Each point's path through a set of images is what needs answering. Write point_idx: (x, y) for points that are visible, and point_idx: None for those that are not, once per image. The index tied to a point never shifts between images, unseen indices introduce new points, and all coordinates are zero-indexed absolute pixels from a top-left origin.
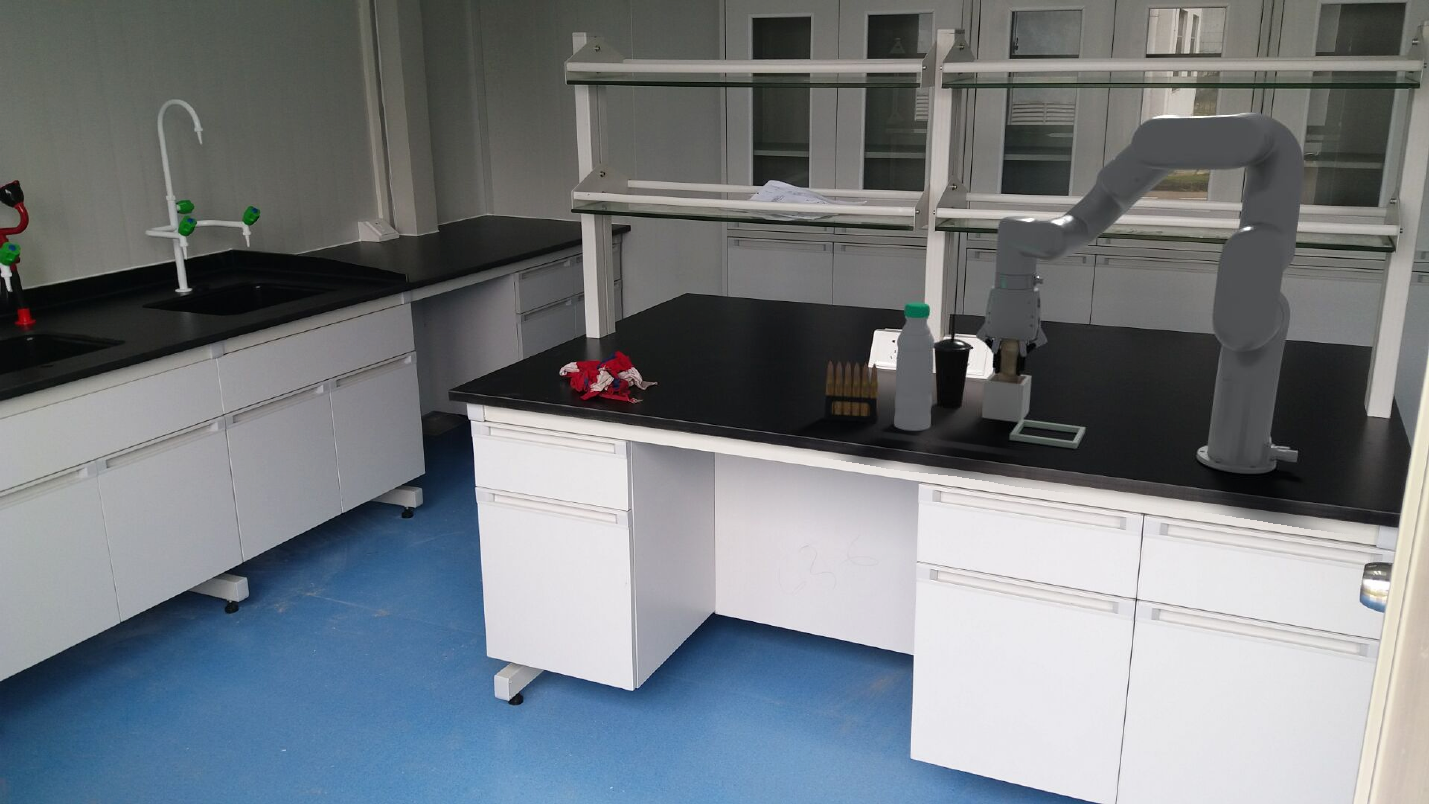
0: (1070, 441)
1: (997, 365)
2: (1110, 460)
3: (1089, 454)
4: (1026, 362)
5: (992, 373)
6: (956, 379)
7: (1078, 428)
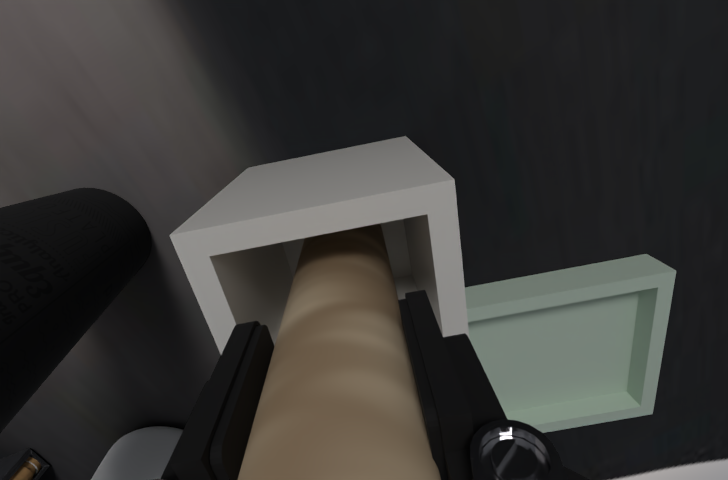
0: (633, 411)
1: None
2: (720, 383)
3: (665, 374)
4: (482, 367)
5: (195, 281)
6: (56, 366)
7: (649, 287)
